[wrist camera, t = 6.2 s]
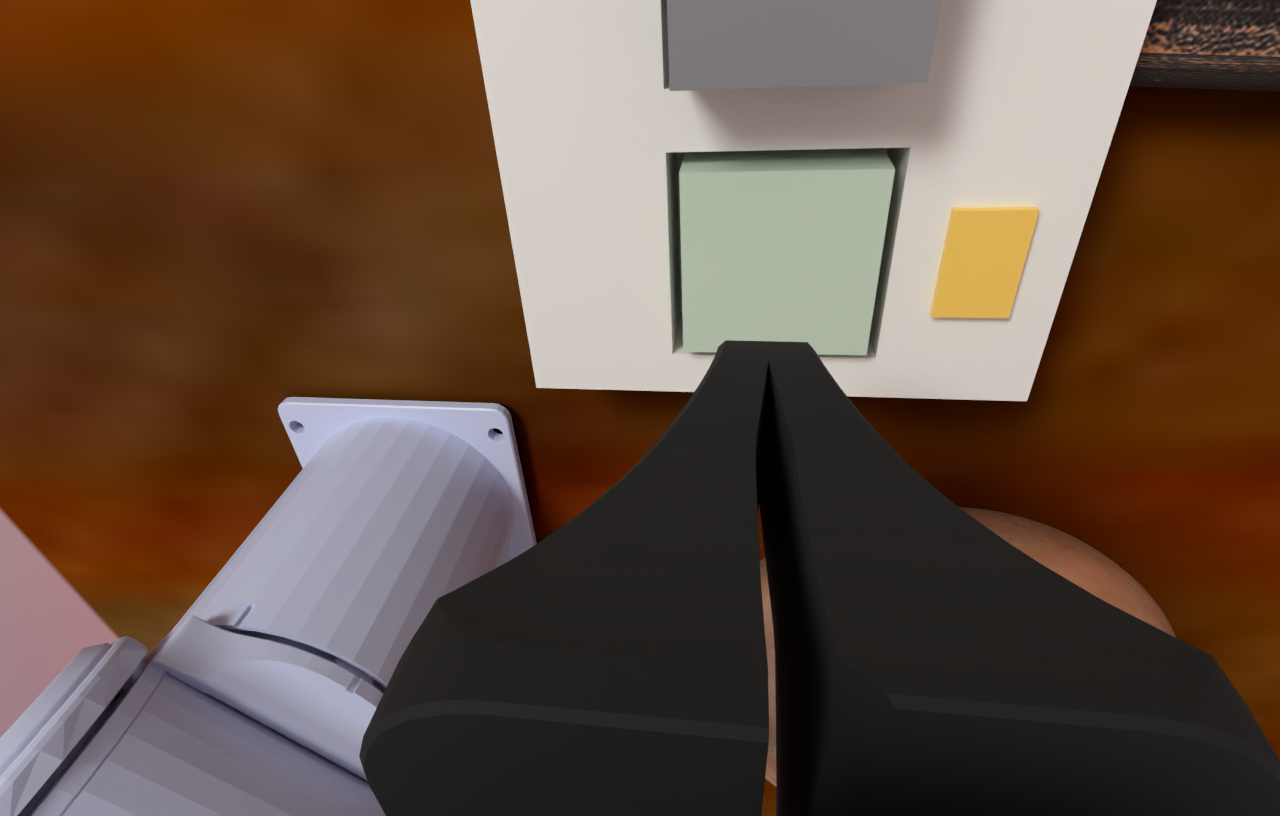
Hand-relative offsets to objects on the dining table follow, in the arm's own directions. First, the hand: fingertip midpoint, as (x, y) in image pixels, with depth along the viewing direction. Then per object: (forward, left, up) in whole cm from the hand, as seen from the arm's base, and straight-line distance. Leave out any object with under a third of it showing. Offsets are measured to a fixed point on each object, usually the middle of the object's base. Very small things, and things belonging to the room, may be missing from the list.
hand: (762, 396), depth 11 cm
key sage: (0, 0, -7) cm, 7 cm away
